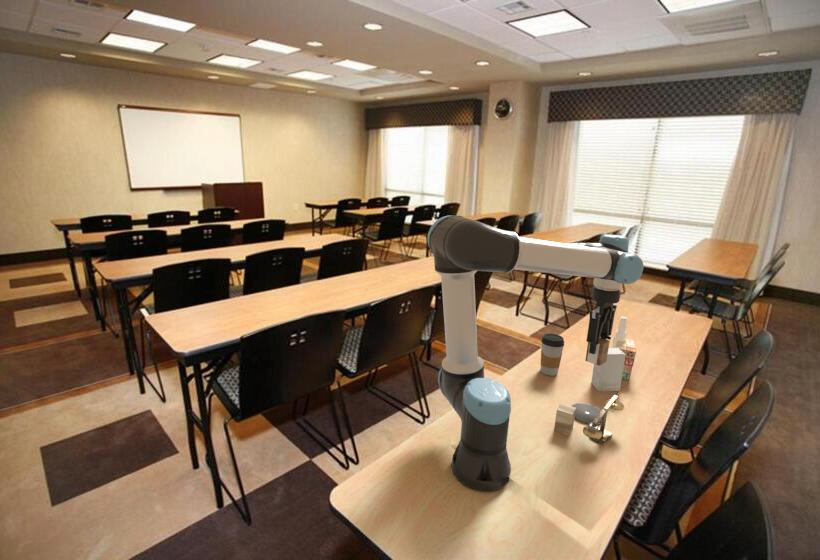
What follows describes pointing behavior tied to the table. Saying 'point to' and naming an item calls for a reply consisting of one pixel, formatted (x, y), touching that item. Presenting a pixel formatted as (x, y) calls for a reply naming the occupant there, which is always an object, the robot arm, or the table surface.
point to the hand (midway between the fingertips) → (595, 360)
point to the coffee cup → (551, 354)
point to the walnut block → (601, 351)
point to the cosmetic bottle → (620, 332)
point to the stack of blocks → (627, 356)
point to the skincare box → (609, 371)
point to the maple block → (564, 419)
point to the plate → (586, 413)
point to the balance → (602, 422)
